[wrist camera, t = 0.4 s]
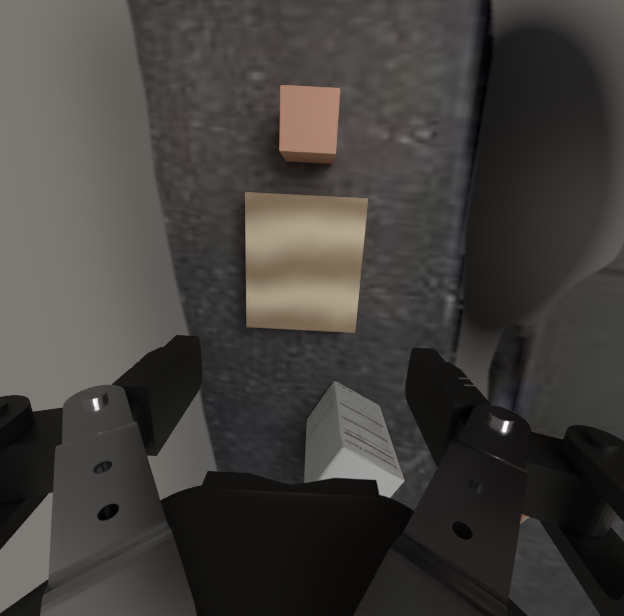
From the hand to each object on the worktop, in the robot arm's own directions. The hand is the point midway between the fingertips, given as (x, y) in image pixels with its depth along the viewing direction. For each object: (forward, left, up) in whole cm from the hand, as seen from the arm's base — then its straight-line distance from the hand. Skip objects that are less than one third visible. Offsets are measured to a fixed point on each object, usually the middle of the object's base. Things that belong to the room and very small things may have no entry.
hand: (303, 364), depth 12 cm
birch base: (0, -1, -26) cm, 26 cm away
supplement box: (+20, +5, -26) cm, 33 cm away
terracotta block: (-13, -1, -26) cm, 29 cm away
